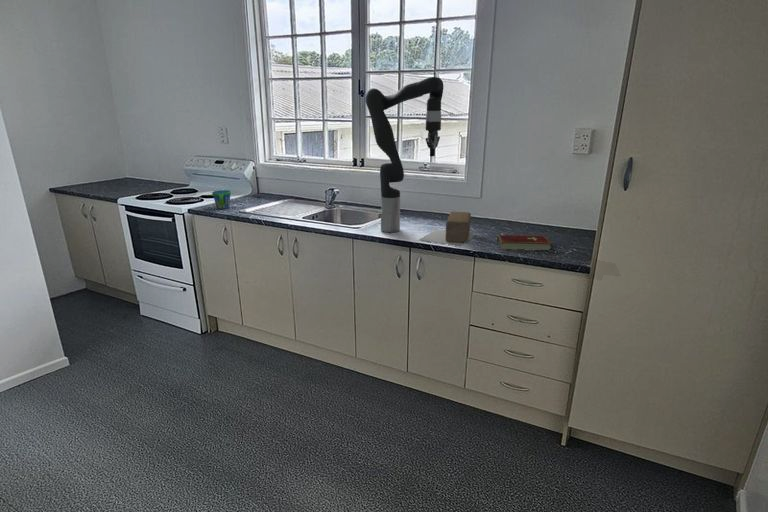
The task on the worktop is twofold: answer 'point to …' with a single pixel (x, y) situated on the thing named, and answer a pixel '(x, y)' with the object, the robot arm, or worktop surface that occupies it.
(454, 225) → the wooden block
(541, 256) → the worktop surface
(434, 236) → the grey mat
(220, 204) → the snack cup
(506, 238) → the hardcover book
